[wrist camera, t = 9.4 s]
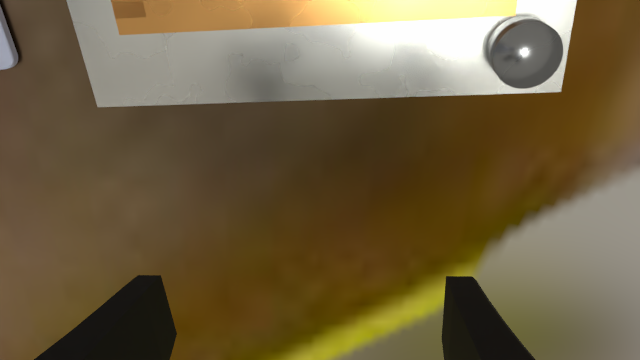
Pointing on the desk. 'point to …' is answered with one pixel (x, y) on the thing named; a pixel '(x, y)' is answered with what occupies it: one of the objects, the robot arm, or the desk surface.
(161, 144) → the desk surface
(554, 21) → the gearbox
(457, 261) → the desk surface
